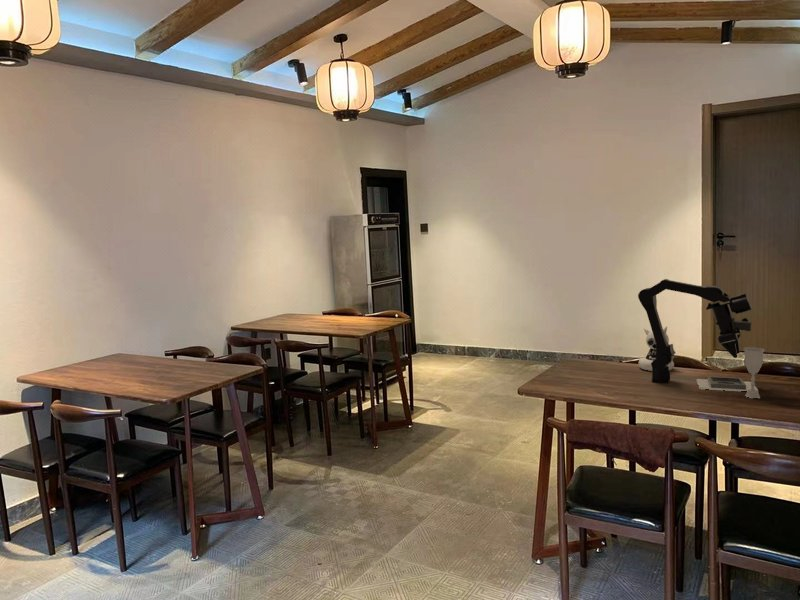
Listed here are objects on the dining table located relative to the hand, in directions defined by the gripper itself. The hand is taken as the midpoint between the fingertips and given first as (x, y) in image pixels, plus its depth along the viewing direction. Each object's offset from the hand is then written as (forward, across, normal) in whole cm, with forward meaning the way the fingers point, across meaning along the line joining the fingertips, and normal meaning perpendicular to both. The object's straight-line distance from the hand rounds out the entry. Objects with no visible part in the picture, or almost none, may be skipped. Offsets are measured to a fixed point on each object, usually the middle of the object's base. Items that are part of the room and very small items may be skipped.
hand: (737, 355), depth 232 cm
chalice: (+15, -10, -2) cm, 18 cm away
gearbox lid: (+11, +2, +8) cm, 14 cm away
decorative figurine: (+2, +22, +36) cm, 42 cm away
